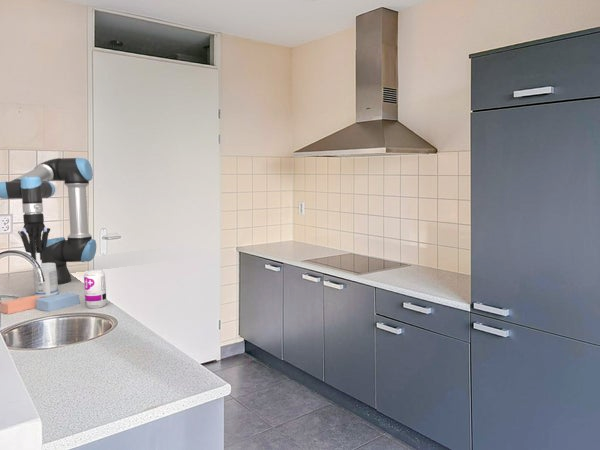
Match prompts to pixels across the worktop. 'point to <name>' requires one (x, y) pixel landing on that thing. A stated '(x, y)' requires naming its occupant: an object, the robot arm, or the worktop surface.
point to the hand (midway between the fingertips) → (37, 267)
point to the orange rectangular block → (19, 304)
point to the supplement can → (95, 289)
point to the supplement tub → (46, 281)
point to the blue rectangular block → (57, 301)
